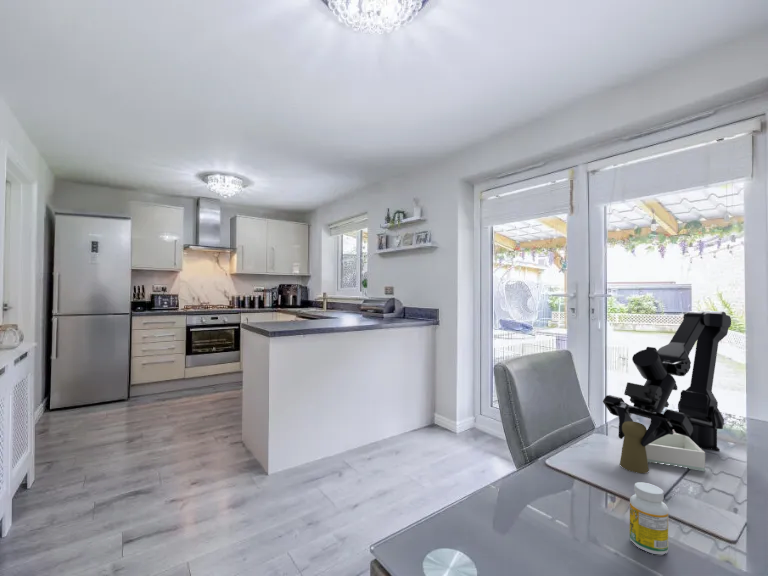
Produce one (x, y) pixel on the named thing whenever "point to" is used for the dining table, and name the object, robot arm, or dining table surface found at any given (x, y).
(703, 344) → the robot arm
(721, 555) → the dining table surface
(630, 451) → the cork
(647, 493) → the supplement bottle
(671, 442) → the open box
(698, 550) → the dining table surface
